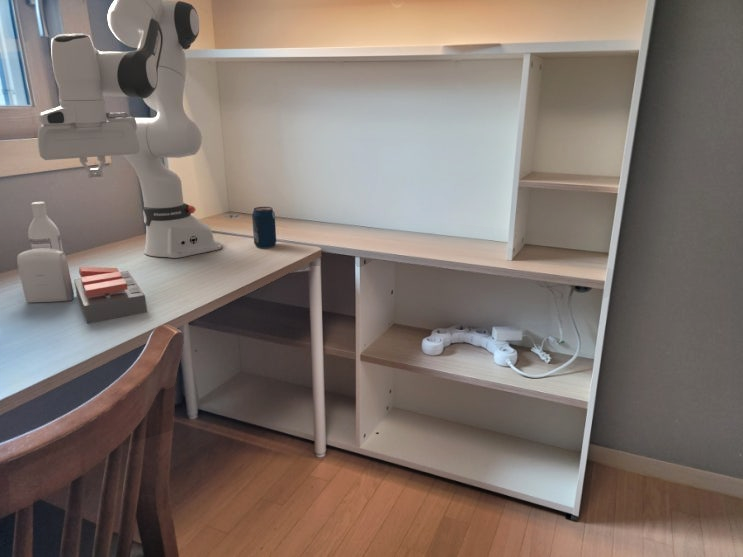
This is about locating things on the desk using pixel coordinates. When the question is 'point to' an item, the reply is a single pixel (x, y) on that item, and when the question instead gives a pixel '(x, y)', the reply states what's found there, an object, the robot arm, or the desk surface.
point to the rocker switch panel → (112, 301)
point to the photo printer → (45, 275)
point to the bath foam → (43, 230)
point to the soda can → (264, 227)
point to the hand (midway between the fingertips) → (95, 176)
